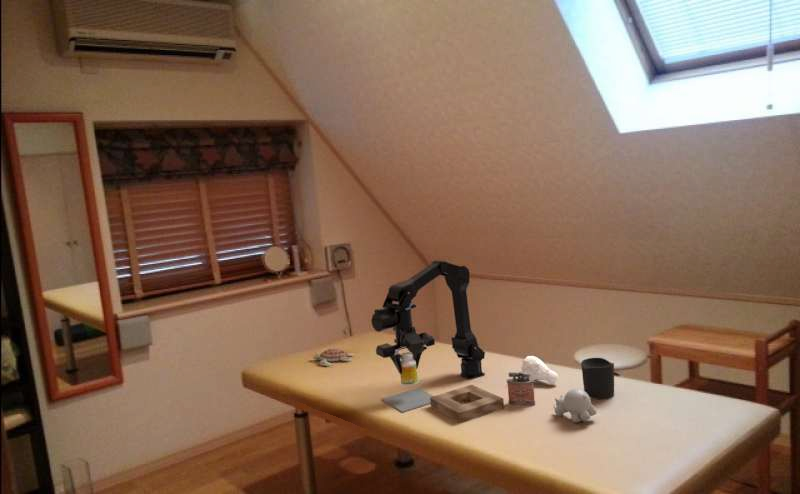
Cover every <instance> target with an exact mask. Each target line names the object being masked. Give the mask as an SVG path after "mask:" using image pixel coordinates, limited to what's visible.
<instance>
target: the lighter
mask: <svg viewBox="0 0 800 494" xmlns="http://www.w3.org/2000/svg"><path fill="white" fill-rule="evenodd" d="M525 377H526V378H525ZM506 383H507V395H508V401H507V402H508V403H507V404H508V405H509V406H515V407H534V406H535V405H536V400H535V391H534V390H535V388H534V383H535V380H533V379H529V373H523V371H522V370H520V371H519V372H517V371H509V372H508V378H507V379H506Z"/></svg>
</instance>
